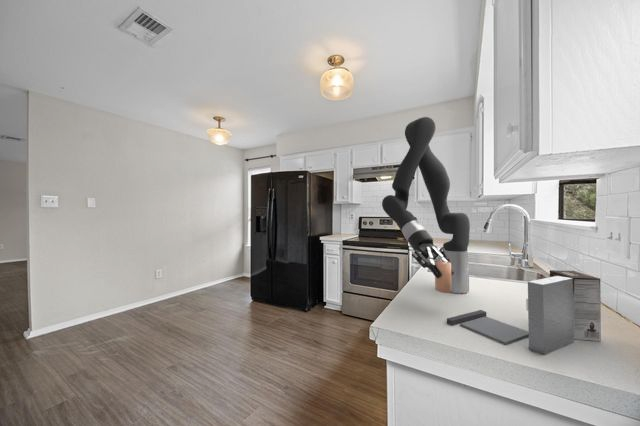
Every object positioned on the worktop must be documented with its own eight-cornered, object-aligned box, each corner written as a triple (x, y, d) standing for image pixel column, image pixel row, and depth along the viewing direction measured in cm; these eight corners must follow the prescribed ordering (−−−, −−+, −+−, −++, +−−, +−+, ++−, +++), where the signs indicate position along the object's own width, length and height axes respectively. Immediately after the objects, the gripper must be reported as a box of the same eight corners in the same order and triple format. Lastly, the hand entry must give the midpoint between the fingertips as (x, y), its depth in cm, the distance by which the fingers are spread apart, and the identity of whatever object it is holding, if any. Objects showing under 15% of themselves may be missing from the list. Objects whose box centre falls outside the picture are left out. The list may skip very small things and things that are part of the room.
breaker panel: (552, 335, 67) (551, 274, 67) (573, 342, 63) (572, 278, 63) (523, 346, 61) (521, 280, 61) (544, 355, 57) (543, 284, 57)
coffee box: (548, 324, 73) (547, 269, 74) (574, 326, 72) (573, 270, 72) (573, 339, 64) (572, 276, 65) (603, 342, 63) (602, 278, 63)
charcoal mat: (486, 318, 78) (486, 316, 78) (532, 335, 67) (532, 332, 67) (460, 325, 73) (460, 323, 73) (505, 344, 62) (505, 342, 62)
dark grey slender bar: (480, 315, 81) (480, 309, 81) (486, 317, 80) (486, 311, 80) (446, 324, 74) (446, 318, 74) (452, 326, 73) (452, 320, 73)
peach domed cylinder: (442, 287, 85) (441, 260, 85) (455, 291, 80) (454, 263, 80) (432, 289, 83) (431, 262, 83) (444, 293, 78) (443, 264, 78)
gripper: (406, 229, 86) (436, 271, 75) (436, 227, 92) (468, 266, 81) (396, 243, 91) (423, 285, 80) (425, 241, 97) (454, 279, 86)
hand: (445, 275), depth 81 cm, fingers closed on peach domed cylinder, 4 cm apart
